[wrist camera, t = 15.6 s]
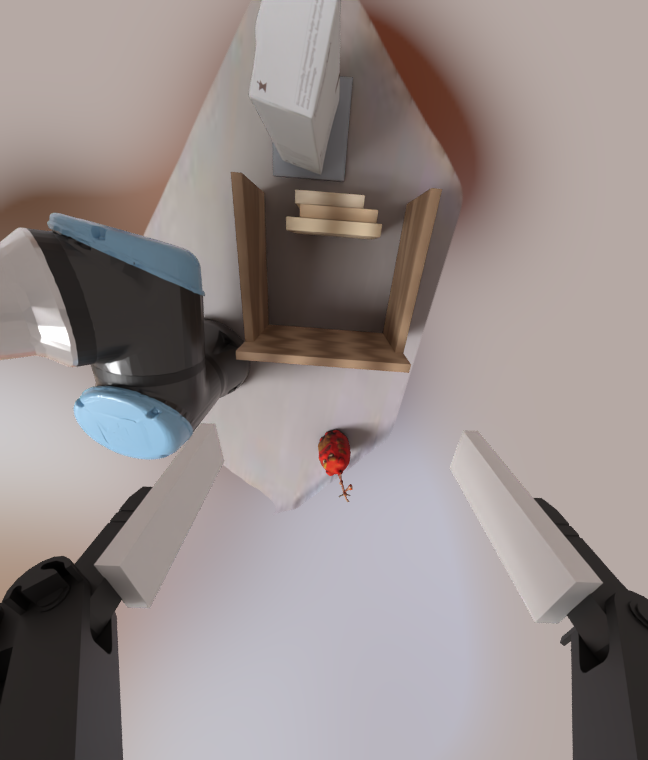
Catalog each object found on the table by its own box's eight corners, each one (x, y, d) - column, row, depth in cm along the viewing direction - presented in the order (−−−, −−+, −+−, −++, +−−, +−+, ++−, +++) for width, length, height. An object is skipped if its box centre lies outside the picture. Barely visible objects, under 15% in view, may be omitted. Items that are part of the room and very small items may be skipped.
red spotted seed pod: (331, 422, 55) (330, 477, 42) (356, 436, 56) (363, 493, 43) (313, 444, 58) (307, 501, 45) (337, 456, 59) (339, 515, 46)
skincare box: (321, 176, 34) (314, 128, 21) (279, 160, 33) (245, 100, 20) (340, 94, 30) (347, -27, 17) (293, 74, 30) (263, -68, 17)
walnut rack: (262, 330, 45) (236, 359, 33) (255, 192, 36) (215, 159, 23) (387, 339, 45) (408, 372, 33) (414, 204, 36) (458, 179, 23)
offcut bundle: (294, 233, 38) (286, 229, 31) (295, 196, 36) (286, 184, 29) (371, 239, 38) (380, 237, 31) (376, 203, 36) (387, 192, 29)
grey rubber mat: (274, 176, 35) (273, 175, 34) (271, 73, 30) (271, 70, 30) (343, 181, 35) (344, 180, 34) (352, 79, 30) (352, 77, 30)
